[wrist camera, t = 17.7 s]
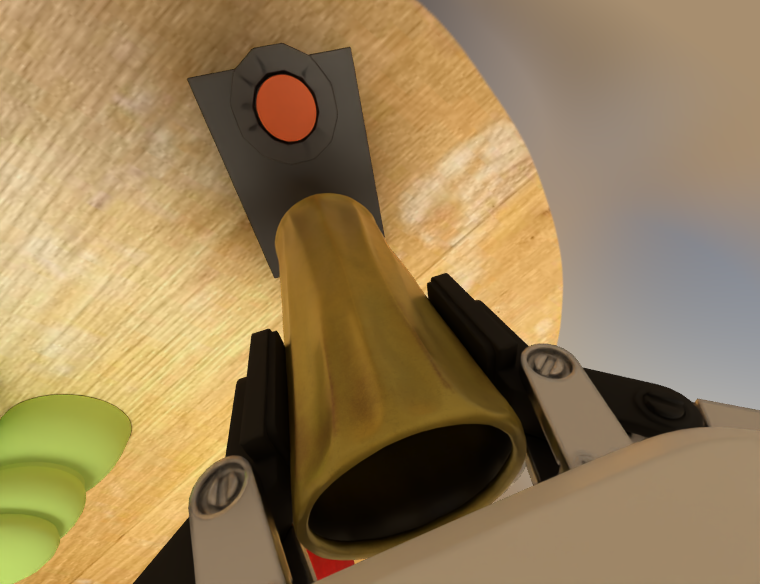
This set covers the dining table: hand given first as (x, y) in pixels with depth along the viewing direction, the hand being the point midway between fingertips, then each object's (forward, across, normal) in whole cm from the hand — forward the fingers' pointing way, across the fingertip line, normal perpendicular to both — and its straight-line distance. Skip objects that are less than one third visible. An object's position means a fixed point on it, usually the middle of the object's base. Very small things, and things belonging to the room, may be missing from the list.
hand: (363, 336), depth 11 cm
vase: (+9, 0, 0) cm, 9 cm away
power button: (+14, 0, -7) cm, 16 cm away
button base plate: (+17, 0, -2) cm, 17 cm away
